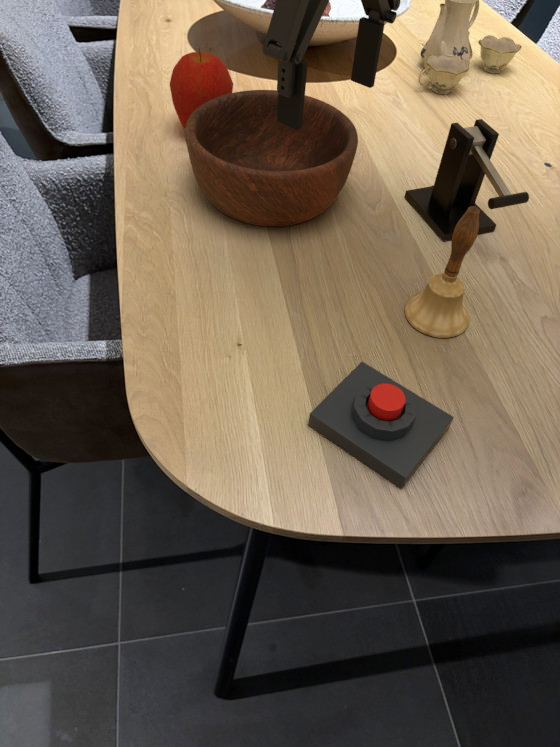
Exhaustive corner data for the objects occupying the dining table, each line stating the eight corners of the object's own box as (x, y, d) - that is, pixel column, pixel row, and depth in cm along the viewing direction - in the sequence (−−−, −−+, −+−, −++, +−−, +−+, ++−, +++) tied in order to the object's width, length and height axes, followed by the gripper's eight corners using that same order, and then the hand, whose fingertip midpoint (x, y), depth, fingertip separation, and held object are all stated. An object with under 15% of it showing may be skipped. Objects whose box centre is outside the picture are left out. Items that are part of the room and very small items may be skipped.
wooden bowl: (252, 134, 106) (253, 73, 98) (376, 185, 97) (389, 123, 90) (154, 196, 92) (147, 132, 84) (290, 262, 83) (296, 197, 76)
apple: (180, 149, 101) (174, 63, 90) (167, 121, 107) (160, 37, 96) (240, 142, 104) (240, 57, 93) (223, 115, 110) (222, 32, 99)
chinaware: (446, 114, 118) (480, 25, 105) (380, 76, 123) (405, -13, 110) (516, 75, 132) (554, -8, 119) (454, 43, 138) (484, -40, 124)
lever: (523, 207, 82) (532, 195, 79) (489, 214, 80) (497, 201, 78) (479, 137, 86) (487, 124, 84) (446, 142, 85) (453, 129, 83)
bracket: (494, 231, 91) (528, 145, 80) (443, 241, 88) (471, 155, 78) (452, 188, 98) (478, 104, 88) (404, 197, 96) (425, 112, 85)
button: (408, 406, 63) (412, 395, 62) (390, 426, 61) (393, 416, 60) (379, 388, 65) (382, 377, 63) (361, 408, 63) (363, 397, 61)
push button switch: (448, 428, 66) (459, 406, 63) (401, 489, 61) (410, 468, 58) (358, 373, 71) (364, 350, 68) (307, 425, 65) (311, 403, 62)
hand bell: (400, 292, 81) (430, 187, 68) (461, 295, 81) (501, 191, 69) (409, 337, 75) (442, 231, 63) (474, 340, 75) (520, 235, 63)
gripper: (398, -174, 57) (362, 58, 74) (221, -146, 44) (224, 131, 60) (468, -160, 55) (415, 78, 71) (302, -126, 41) (283, 158, 57)
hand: (327, 103), depth 66 cm, fingers open, 13 cm apart
